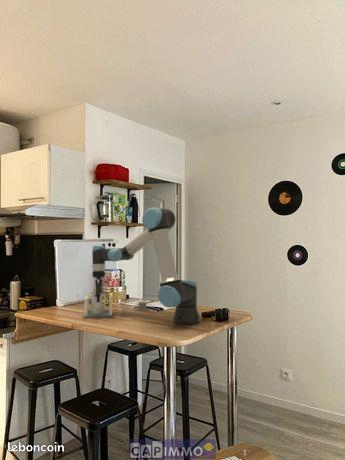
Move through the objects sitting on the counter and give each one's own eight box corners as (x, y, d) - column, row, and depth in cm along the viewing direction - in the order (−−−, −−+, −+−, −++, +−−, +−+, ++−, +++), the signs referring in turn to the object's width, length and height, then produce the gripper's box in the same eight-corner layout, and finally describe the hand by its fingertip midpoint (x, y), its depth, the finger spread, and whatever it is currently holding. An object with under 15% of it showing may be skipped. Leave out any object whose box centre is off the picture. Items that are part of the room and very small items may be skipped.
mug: (94, 314, 213) (94, 294, 214) (89, 313, 219) (89, 293, 219) (109, 312, 220) (109, 292, 220) (103, 311, 225) (103, 291, 226)
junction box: (146, 310, 234) (146, 302, 234) (138, 310, 233) (138, 303, 234) (145, 308, 240) (145, 301, 240) (138, 309, 239) (138, 301, 240)
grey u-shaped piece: (111, 317, 212) (111, 298, 212) (84, 318, 210) (84, 299, 210) (112, 313, 226) (112, 294, 226) (86, 314, 224) (86, 295, 224)
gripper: (93, 269, 230) (93, 302, 230) (90, 272, 206) (91, 309, 205) (105, 268, 232) (105, 302, 231) (104, 272, 207) (104, 309, 206)
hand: (98, 305), depth 218 cm, fingers open, 13 cm apart
